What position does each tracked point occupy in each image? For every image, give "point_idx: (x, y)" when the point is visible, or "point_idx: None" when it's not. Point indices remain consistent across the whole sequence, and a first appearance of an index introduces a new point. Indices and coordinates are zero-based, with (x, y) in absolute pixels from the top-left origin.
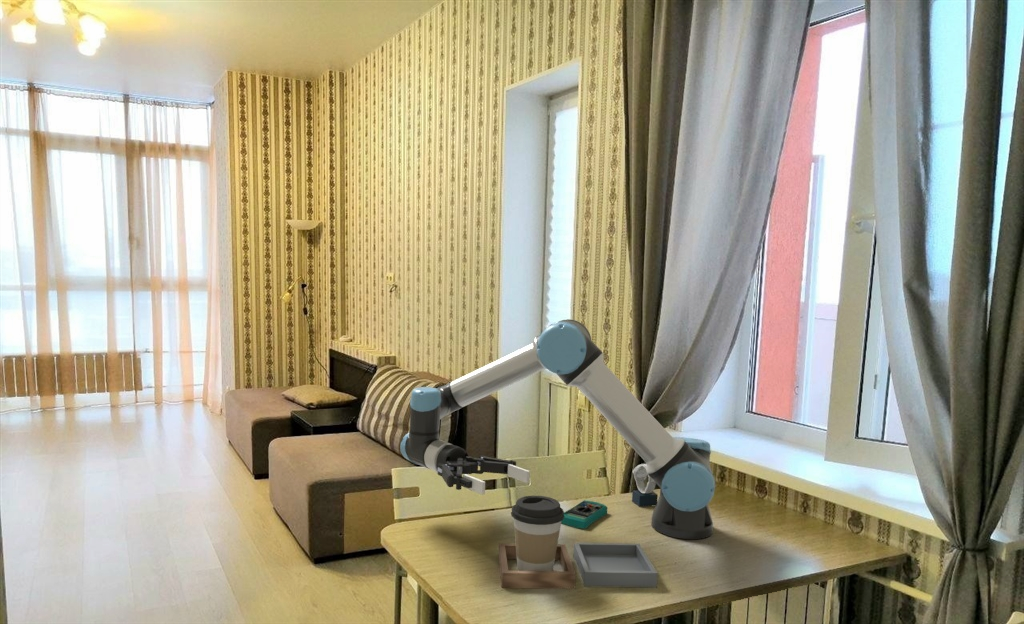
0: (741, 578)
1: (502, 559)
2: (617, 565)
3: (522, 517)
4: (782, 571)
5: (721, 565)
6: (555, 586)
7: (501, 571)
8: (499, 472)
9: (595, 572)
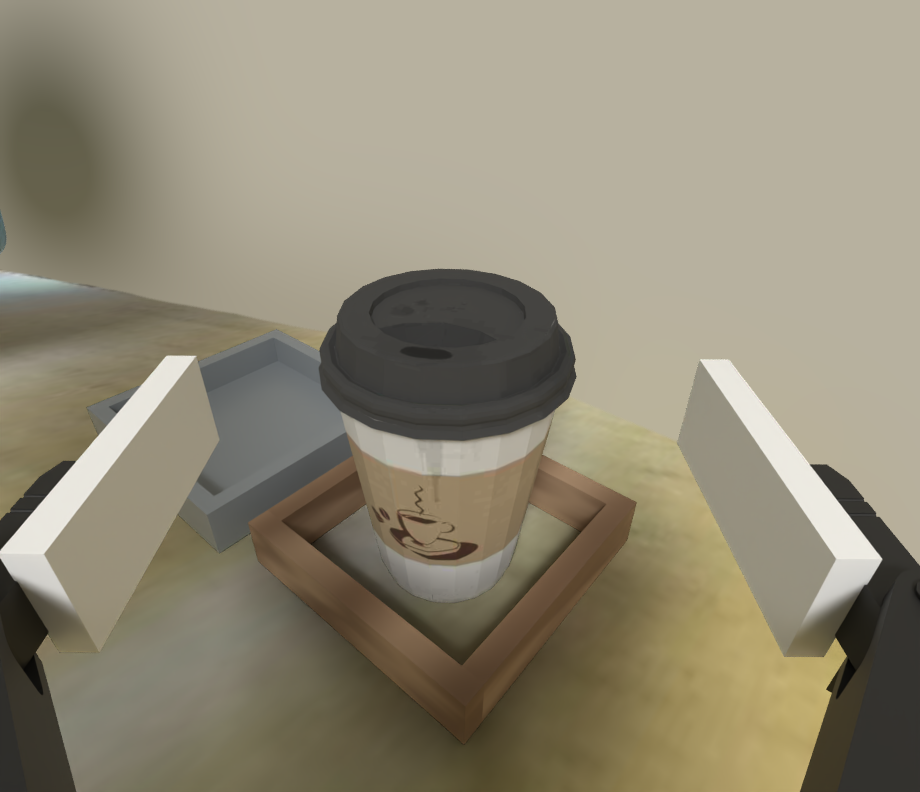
0: (122, 311)
1: (571, 570)
2: (236, 426)
3: (568, 335)
4: (39, 292)
5: (61, 340)
6: None
7: (603, 554)
8: (63, 763)
9: None
